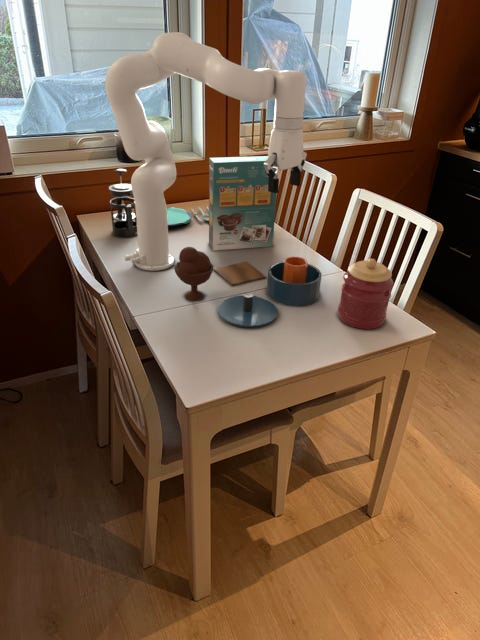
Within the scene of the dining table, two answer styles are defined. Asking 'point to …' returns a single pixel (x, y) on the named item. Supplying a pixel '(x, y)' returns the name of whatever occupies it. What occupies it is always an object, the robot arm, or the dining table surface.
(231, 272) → the plate
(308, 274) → the pot
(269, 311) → the lid
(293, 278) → the cup
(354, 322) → the kitchen canister
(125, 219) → the french press
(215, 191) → the cake mix box
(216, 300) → the dining table surface
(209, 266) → the ice cream bowl
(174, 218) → the cutlery set
